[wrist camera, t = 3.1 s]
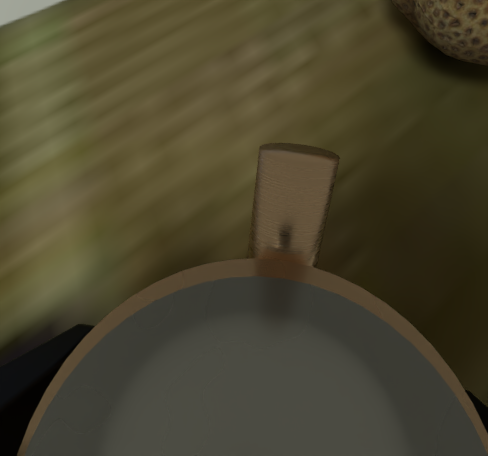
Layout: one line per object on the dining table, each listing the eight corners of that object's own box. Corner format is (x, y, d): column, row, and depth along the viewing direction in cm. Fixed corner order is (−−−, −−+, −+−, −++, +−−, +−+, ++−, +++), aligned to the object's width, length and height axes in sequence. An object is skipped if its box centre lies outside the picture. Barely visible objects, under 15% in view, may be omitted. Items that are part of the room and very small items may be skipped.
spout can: (324, 508, 12) (683, 1277, 2) (159, 475, 13) (-222, 967, 2) (339, 285, 15) (526, 135, 5) (203, 265, 15) (105, 87, 5)
